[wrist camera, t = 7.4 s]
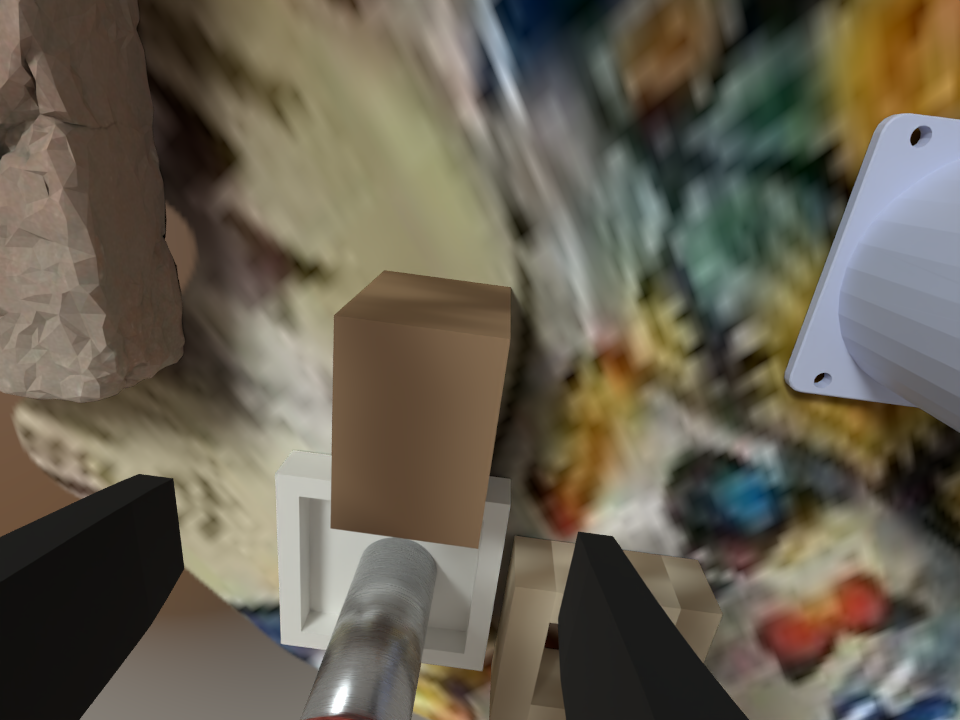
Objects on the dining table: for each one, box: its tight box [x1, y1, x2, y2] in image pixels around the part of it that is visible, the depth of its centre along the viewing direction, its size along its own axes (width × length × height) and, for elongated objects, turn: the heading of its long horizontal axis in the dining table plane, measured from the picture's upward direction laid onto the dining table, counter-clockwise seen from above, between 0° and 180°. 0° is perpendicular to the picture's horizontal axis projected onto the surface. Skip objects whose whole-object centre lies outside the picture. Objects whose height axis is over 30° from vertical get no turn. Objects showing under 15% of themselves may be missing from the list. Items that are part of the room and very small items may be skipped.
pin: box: [300, 537, 437, 720], centre depth 16 cm, size 4×4×8 cm
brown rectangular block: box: [330, 270, 511, 549], centre depth 15 cm, size 4×6×5 cm, turn 173°
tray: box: [275, 450, 511, 671], centre depth 19 cm, size 8×8×2 cm
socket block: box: [489, 536, 723, 720], centre depth 20 cm, size 7×7×2 cm
